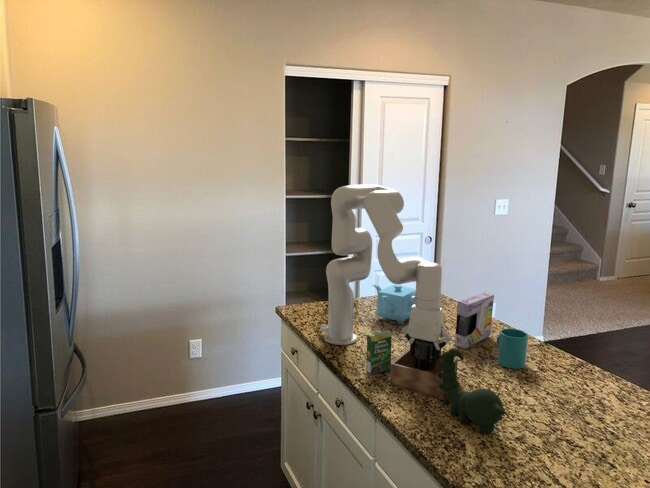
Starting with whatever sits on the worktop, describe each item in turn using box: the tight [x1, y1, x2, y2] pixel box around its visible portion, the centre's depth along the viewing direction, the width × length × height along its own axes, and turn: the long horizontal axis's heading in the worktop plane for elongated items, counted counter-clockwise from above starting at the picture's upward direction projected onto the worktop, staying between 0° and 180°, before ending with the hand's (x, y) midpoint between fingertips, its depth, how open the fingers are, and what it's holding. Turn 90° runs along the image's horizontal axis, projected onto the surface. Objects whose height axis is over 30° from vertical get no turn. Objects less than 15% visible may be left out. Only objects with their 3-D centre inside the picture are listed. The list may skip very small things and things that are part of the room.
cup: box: [496, 328, 529, 370], centre depth 174 cm, size 9×12×11 cm
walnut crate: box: [389, 347, 459, 399], centre depth 159 cm, size 16×16×7 cm
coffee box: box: [366, 330, 392, 376], centre depth 166 cm, size 8×3×13 cm, turn 115°
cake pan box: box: [454, 291, 495, 349], centre depth 192 cm, size 19×5×18 cm, turn 131°
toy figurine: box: [438, 347, 507, 435], centre depth 136 cm, size 9×19×25 cm
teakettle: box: [372, 284, 416, 325], centre depth 216 cm, size 19×19×15 cm
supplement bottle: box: [414, 339, 436, 371], centre depth 158 cm, size 7×7×12 cm
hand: (425, 357), depth 158 cm, fingers closed on supplement bottle, 6 cm apart
